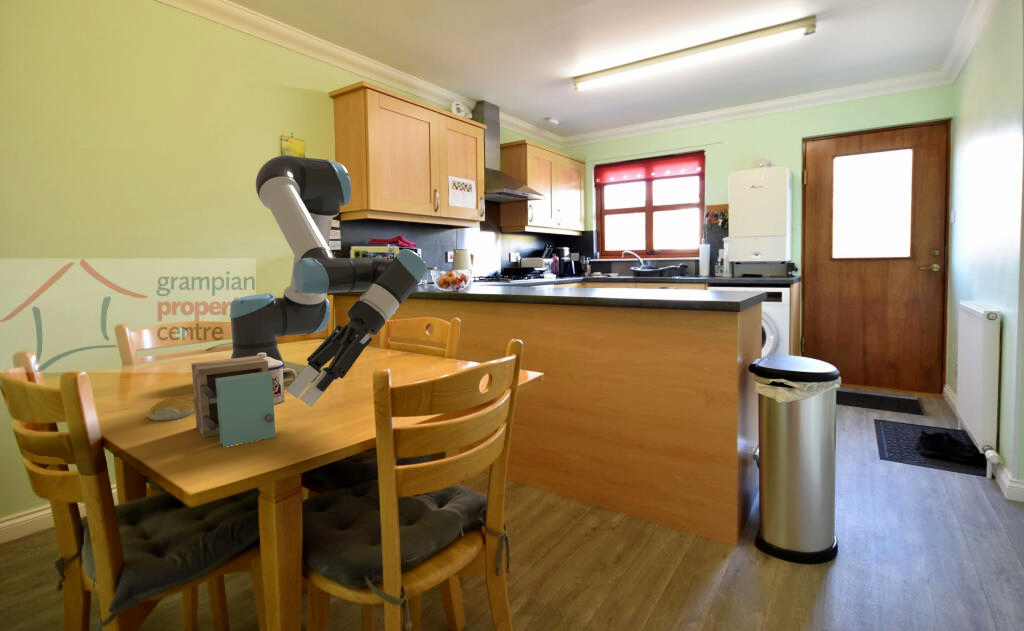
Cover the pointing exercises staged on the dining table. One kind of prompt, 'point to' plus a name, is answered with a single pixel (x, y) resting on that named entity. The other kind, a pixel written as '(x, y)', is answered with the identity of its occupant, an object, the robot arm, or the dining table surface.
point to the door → (245, 408)
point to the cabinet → (207, 387)
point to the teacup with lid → (277, 377)
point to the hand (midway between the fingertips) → (298, 398)
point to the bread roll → (171, 409)
